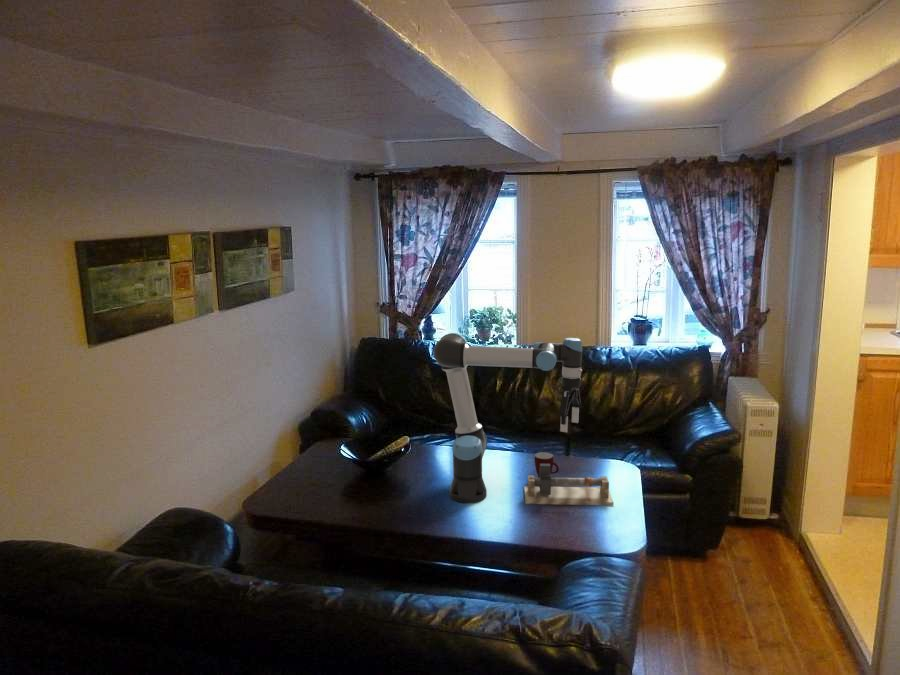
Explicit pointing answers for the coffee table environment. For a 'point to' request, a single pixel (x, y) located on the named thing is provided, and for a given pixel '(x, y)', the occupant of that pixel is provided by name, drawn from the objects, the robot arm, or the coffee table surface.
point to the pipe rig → (570, 491)
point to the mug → (545, 461)
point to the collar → (545, 479)
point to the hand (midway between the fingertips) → (569, 427)
